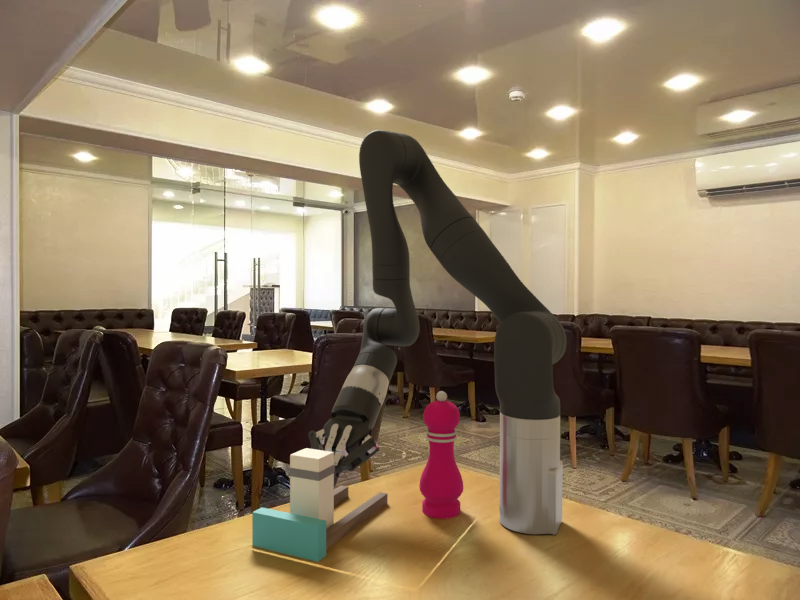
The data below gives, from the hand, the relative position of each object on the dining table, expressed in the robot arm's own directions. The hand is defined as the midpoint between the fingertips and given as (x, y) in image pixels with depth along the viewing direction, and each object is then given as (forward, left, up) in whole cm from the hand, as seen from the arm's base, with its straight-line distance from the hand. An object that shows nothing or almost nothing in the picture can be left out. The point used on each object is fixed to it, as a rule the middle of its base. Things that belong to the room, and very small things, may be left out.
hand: (321, 491), depth 85 cm
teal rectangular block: (0, +8, -6) cm, 10 cm away
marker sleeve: (0, +3, -6) cm, 6 cm away
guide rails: (0, -2, -6) cm, 6 cm away
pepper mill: (-14, -14, -6) cm, 21 cm away
